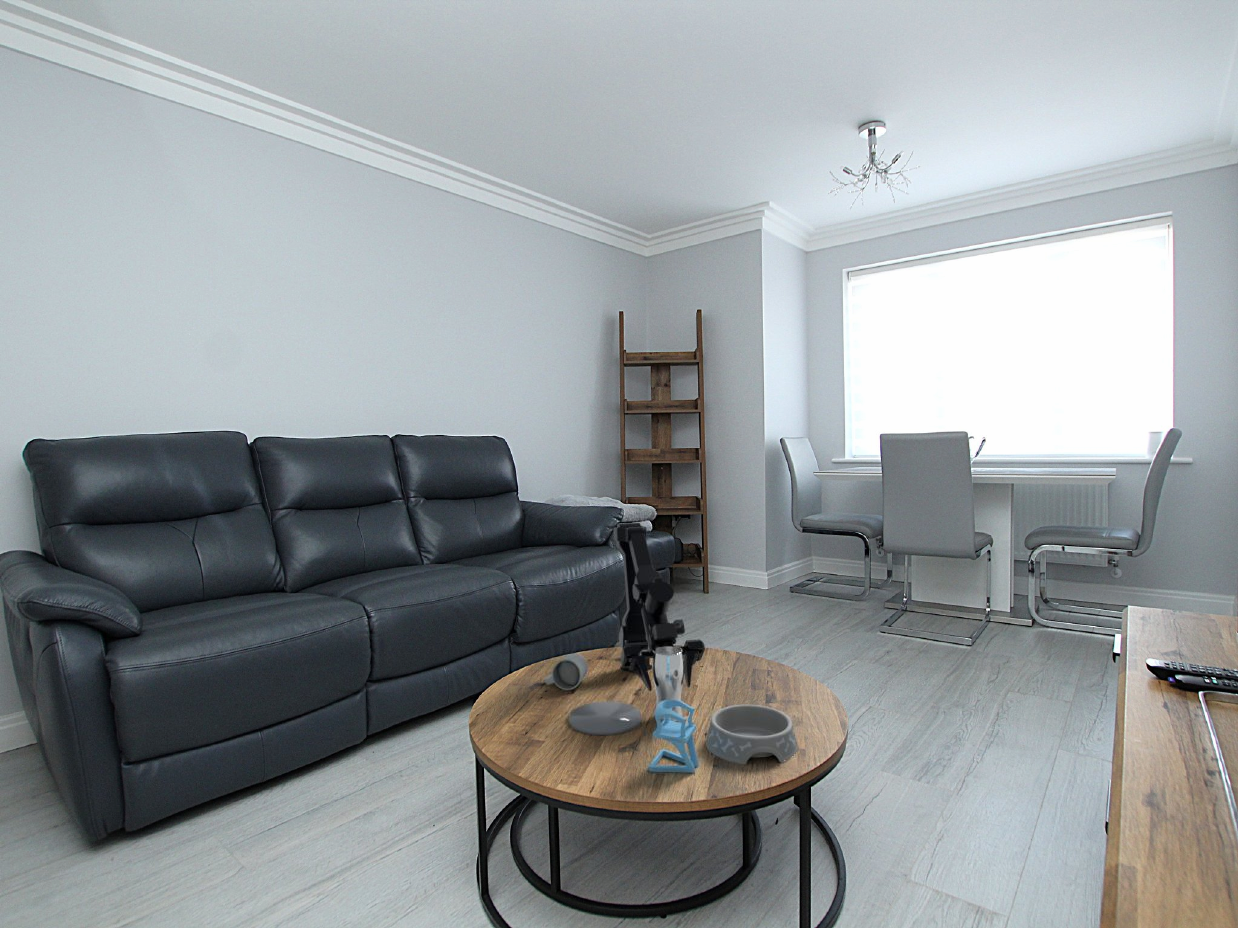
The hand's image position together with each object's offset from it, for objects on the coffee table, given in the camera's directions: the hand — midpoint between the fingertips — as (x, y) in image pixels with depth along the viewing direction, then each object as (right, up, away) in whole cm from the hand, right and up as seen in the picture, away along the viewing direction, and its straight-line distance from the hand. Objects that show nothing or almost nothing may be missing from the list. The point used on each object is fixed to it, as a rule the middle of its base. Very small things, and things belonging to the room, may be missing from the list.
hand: (670, 688), depth 150 cm
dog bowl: (+15, -8, -13) cm, 21 cm away
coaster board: (-14, -7, +1) cm, 16 cm away
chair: (-1, -8, -21) cm, 22 cm away
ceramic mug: (-25, -7, +23) cm, 35 cm away
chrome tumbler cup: (0, -7, +2) cm, 7 cm away
